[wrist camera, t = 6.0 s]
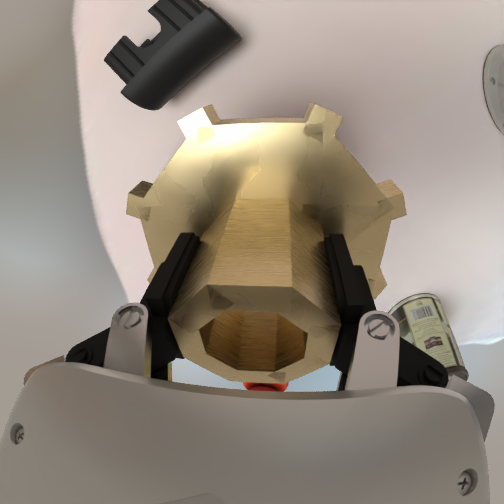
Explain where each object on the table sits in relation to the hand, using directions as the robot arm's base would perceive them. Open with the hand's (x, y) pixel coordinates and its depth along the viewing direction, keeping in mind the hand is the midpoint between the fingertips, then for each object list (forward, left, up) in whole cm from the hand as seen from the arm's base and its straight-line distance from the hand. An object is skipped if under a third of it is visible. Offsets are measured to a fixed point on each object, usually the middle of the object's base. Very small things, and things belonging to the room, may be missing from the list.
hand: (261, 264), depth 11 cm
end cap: (+8, -11, -19) cm, 23 cm away
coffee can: (-22, +25, -18) cm, 38 cm away
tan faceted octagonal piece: (0, 0, -2) cm, 2 cm away
